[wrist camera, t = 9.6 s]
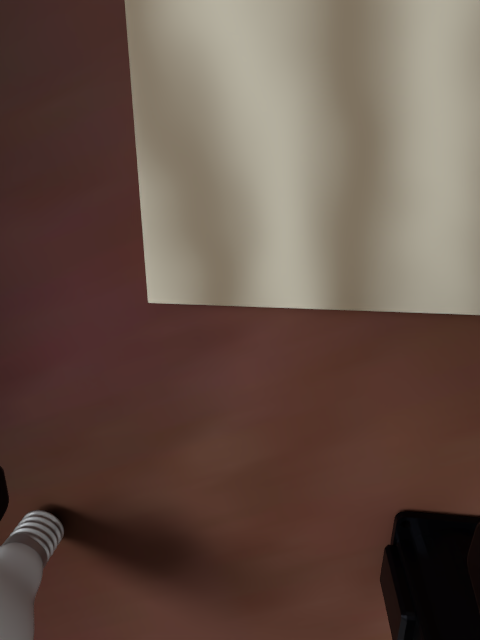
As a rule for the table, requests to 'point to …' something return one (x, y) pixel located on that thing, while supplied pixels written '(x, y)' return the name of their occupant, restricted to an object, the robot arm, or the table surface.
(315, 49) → the board
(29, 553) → the lightbulb
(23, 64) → the table surface
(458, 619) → the robot arm
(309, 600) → the table surface
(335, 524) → the table surface
